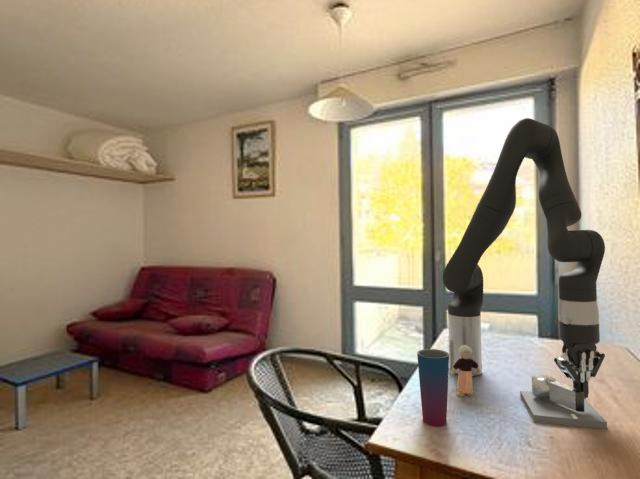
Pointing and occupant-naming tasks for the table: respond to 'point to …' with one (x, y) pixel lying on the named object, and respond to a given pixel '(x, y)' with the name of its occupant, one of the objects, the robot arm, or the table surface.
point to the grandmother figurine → (465, 371)
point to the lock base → (561, 412)
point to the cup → (433, 385)
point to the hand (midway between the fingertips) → (581, 396)
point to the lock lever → (557, 392)
